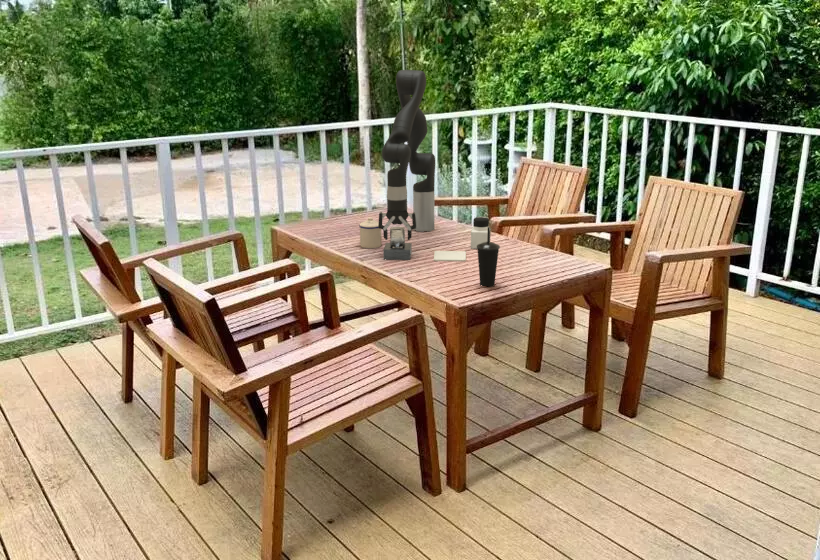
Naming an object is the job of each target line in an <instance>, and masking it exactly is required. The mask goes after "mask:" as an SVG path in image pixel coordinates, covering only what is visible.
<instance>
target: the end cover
mask: <svg viewBox="0 0 820 560" xmlns="http://www.w3.org/2000/svg"><path fill="white" fill-rule="evenodd" d="M405 228H406V227H405V226H392V227H390V228H389V241H390V242H389V243H390V246H392V248H403V246H405V243H406V229H405Z"/></svg>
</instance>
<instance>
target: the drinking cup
mask: <svg viewBox="0 0 820 560" xmlns="http://www.w3.org/2000/svg"><path fill="white" fill-rule="evenodd" d="M490 229H491V228H490V226H489V227H488V234H487V242H483V243H481V244H478V245H477V248H478V249H477V259H478V274H479V275H478V276H479V286H480V285H482V286H493V285H494V286H495V284H496V283H495V282H496V276H497V275H496V273H497V267H498V260H499V259H498V258H499V249H500V248H501V247H500V244H498V243H495V242H494V241H493V242H492V241H490V242H489V236H490V237H491V233H490ZM482 286H481V287H482ZM494 286H493V287H494Z"/></svg>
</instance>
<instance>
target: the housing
mask: <svg viewBox="0 0 820 560" xmlns="http://www.w3.org/2000/svg"><path fill="white" fill-rule="evenodd" d="M382 252H383V255H382V256H383V261H410V260H411V257H412V253H413V252H412V242H405V246H403V248H392V246H390V242H385V244H384V247H383V250H382ZM385 259H386V260H385Z"/></svg>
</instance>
